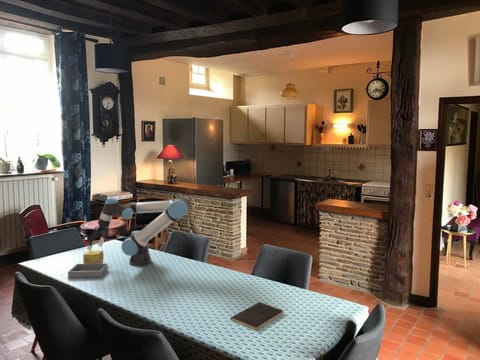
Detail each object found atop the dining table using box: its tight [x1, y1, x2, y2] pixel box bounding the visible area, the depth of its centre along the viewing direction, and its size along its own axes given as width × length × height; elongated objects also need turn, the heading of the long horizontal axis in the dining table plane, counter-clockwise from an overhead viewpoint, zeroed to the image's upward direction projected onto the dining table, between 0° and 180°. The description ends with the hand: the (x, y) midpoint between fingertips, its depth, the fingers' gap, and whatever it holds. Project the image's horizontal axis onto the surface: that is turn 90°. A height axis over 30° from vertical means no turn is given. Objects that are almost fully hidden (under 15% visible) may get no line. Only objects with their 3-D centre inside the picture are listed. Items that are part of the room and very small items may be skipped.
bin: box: [67, 263, 109, 280], centre depth 245 cm, size 20×15×4 cm
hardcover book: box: [230, 301, 284, 331], centre depth 188 cm, size 16×23×2 cm
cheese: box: [82, 249, 105, 264], centre depth 260 cm, size 10×11×10 cm
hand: (94, 248), depth 255 cm, fingers open, 13 cm apart
